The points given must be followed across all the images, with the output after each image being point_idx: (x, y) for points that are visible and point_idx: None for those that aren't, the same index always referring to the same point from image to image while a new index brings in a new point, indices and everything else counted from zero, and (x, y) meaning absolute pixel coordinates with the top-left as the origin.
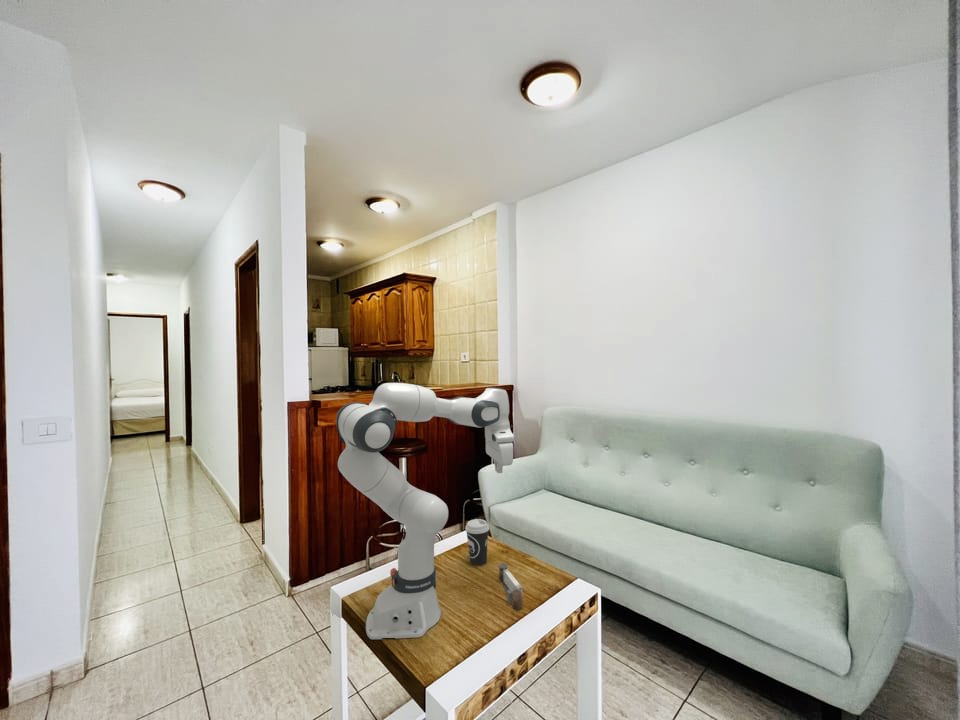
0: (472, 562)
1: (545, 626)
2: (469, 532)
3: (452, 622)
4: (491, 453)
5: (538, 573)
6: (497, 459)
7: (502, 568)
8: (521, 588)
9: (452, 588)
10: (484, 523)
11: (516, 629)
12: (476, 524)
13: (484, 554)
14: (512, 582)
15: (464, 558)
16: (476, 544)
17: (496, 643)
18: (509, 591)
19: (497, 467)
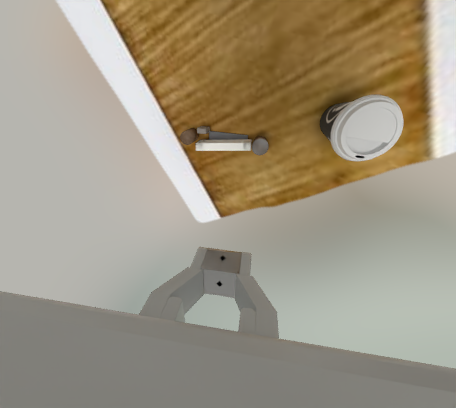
0: (332, 106)
1: (154, 151)
2: (354, 101)
3: (185, 17)
4: (279, 402)
5: (254, 194)
6: (44, 329)
7: (253, 142)
8: (196, 149)
9: (275, 40)
10: (365, 153)
11: (154, 115)
12: (368, 129)
13: (323, 131)
14: (213, 142)
15: None
16: (332, 116)
17: (134, 78)
18: (201, 131)
19: (185, 272)
